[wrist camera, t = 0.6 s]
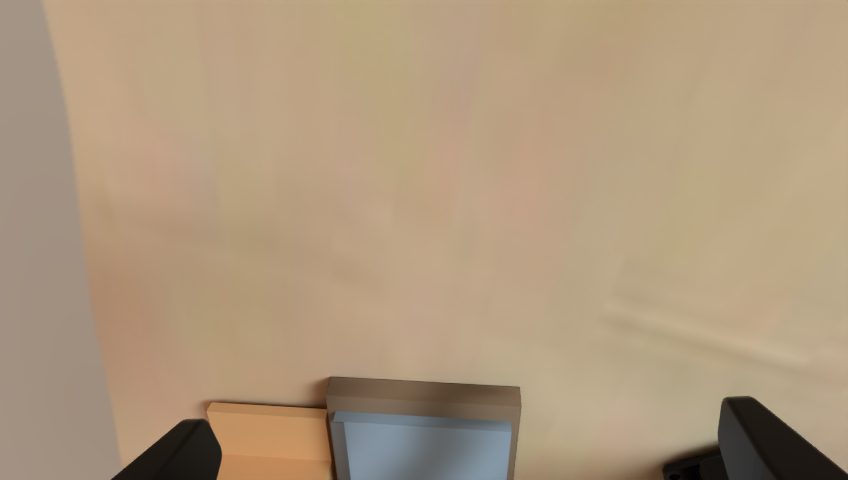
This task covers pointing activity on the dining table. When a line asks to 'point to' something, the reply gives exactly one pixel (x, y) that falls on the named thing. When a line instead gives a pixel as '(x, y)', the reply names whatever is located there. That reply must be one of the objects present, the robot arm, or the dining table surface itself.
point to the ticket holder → (422, 430)
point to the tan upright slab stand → (272, 442)
